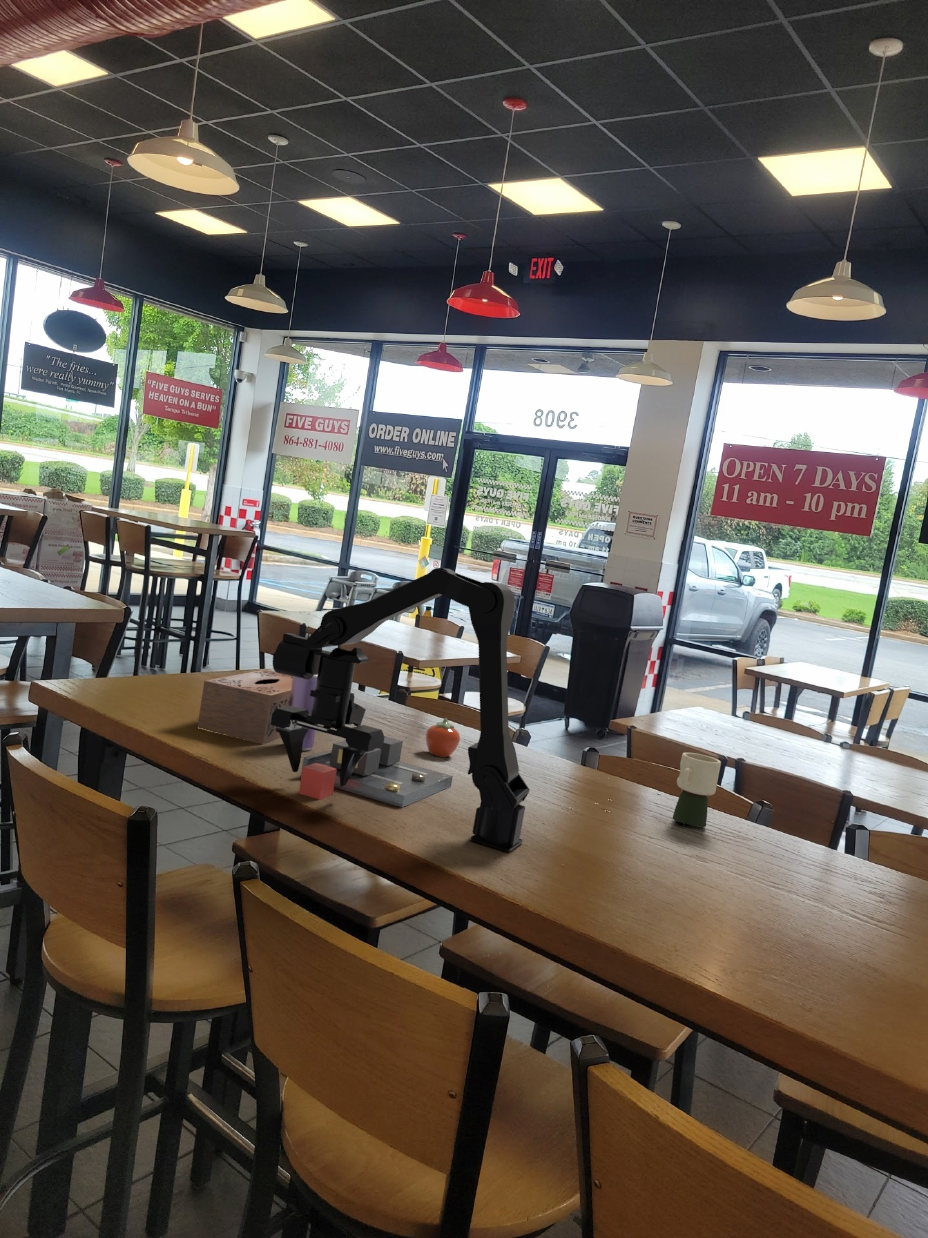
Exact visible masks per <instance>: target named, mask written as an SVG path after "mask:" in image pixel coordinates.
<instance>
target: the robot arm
mask: <svg viewBox="0 0 928 1238" xmlns="http://www.w3.org/2000/svg"><path fill="white" fill-rule="evenodd" d="M441 596H444V597H445V598H448V599H449V600H452V601H453V602H455V603H457V604H460V605H462V606H464V607H466V608H468V612H469V617H470V622H471V625H472V628H473V631H474V634H475V637H476V640H477V645H478V673H479V674H478V679H479V683H478V685H479V687H478V688H479V715H480V716H479V717H480V719H479V720H480V721H479V723H480V733H479V734H480V735H479V739H478V742H475V743H474V744H472V745H470V746H468V747H467V755H468V760H469V768H468V770H467V774H468V775H471V779H472V783H473V786H474V787H476V789H477V790H478V791H479V796H480V805H479V806H478V807H477V808H476V809H475V815H474V821H473V827H472V835H471V836H470V841H471V842H472V843H473V842H474V843H478V844H481V845H484V846H487V847H490V848H493V849H496V850H500V851H502V852H506V853H507V852H508V853H510V852H512V851H513V850H514V849H515V848H517V847H519V846H520V845H521V844H523V839H522V838H520V837H521V833H522V827H523V823H524V822H523V821H524V815H525V811H526V806H524V805H522V804H521V803H522V802H524V801H525V800H526V798H527V797H528V794H530V788H529V786H528V785H527V783H526V782H525V780H524V779H523V777H522V776H521V774H520V772H519V771H520V770H519V769H520V767H519V762H518V757H517V751H516V748H515V745H514V742H513V740H512V736H511V734H510V730H509V728H510V727H509V726H510V725H509V694H508V693H509V691H508V687H509V685H508V684H509V683H508V651H507V650H508V648H507V647H508V645H507V641H508V637H509V633H510V630H511V626H512V622H513V618H514V617H513V616H514V611H515V602H516V599H515V595H514V592H513V591H512V590H511V588H509V587H508V586H507V585H506V584H504V583H500V582H491V581H490V582H489V581H484V582H482V581H480V580H477V579H474V578H471V577H470V576H469V577H468V576H465V575H463V574H460V573H458V572H455V571H454V570H452V569H451V568H444V567H436V568H433V569H431V571H429V572H428V573H426V574H423V575H422V576H420V577H418V578H416V579H414V580H411V581H409V582H408V583H405V584H403V585H400V586H399V587H395V588H394V589H392V590H390V591H388V592H385V593H383V594H382V595H379V596H377V597H375V598H373V599H371V600H368V601H364V602H360V603H355V604H350V605H347V606H343V607H339V608H335V609H331V610H329V611H326V612H325V613H324V614H323V616H322V617H321V621H320V624H319V626H318V627H317V628H316V629H315V630H314V632H313V633H311V634H310V636H308V637H303V636H301V635H298V634H296V633H291V632H290V633H288V632H287V633H283V635H282V640H281V641H280V642H279V643H278V645H277V647H276V649H275V652H273V654H272V655H273V656H272V669H273V670H274V672H277V673H281V674H285V675H290V676H294V677H298V678H303V679H307V680H309V679H311V678H312V677H313V676H314V675H316V674H318V675H317V682H316V688H315V689H313V690H311V692H310V696H312V697H314V700H313V706H312V713H311V714H309V712H308V710H306V709H302V708H298V707H294V706H286V707H280V708H276V709H275V710H274V711H273V712H272V714H271V718H270V725H273V726H276V727H278V728H276V729H275V731H276V732H279V734H280V736H281V738H280V739H281V741H282V743H284V744H283V747H284V749H285V751H286V755H287V756H288V761H289V764H290V768H291V771H292V772H293V773H298V771H299V769H300V764H301V761H302V760H301V758H302V752H303V751H302V746H303V739H304V737H305V735H306V733H307V731H308V729H313V730H316V731H317V732H321V733H325V734H328V735H332V736H335V737H338V738H342V739H345V740H346V742H347V744H348V746H347V747H343V752H342V762H341V772H340V786H342V787H343V786H345V785H346V783H347V781H348V780H349V778H350V776H351V774H352V772H353V771H354V769H355V767H356V765H357V763H358V762H359V760H360V759H361V758H362V756H363V755H364V754H365V753H366V752H370V751H373V750H374V749H377V748H380V747H383V743H384V736H385V735H384V732H383V729H380V728H377V727H373V726H369V725H366V724H362V722H363V719H364V716H365V713H366V711H367V709H366V708H364V707H363V706H361V705H360V704H357V703H355V693H353V692H352V687H353V686H352V685H353V681H354V680H353V679H354V674H355V673H354V672H355V668H356V664H358V665H360V664H366V663H369V658H368V656H367V655H366V654H365V653H364V652H363V650H362V647H361V646H358V647H357V646H356V647H354V648H352V649H347V648H346V649H345V648H342V647H337V646H346V645H354V644H358V643H359V642H361V641H362V640H363V639H365V638H366V637H367V636H369V635H370V634H372V633H374V631H376V630H377V628H378V627H380V626H381V625H383V624H384V623H385V622H387V621H390V620H391V619H394V618H395V617H397V616H399V615H402V614H404V613H406V612H408V611H411V610H413V609H415V608H417V607H420V606H422V605H423V604H426V603H428V602H430V601H432V600H435V599H436V598H439V597H441ZM330 647H335V648H333V650H331V651H330V650H329V651H328V650H325V649H323V648H330ZM347 725H351V726H352V725H353V727H350V726H347Z"/></svg>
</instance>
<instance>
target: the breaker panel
mask: <svg viewBox="0 0 928 1238" xmlns="http://www.w3.org/2000/svg"><path fill="white" fill-rule="evenodd" d="M331 753H332V749H331V750H327V751H323V752H319V753H316V754H311V755H308V756H304V757H303V760H302V765H301V773H300V777H301V776H302V770H303V767H304V766H307V765H311V764H315V763H318V764H321V765H325V766H328V767H332V766H329V765H330V759H331ZM332 768H335V767H332ZM335 769H337V771H336V777H335V783H334V788H336V789H338V790H343V791H346V792H349V793H353V794H355V795H359V796H361V797H362V796H363V797H365V798H369V799H371V800H376V801H377V802H383V803H385V804H389V805H392V806H395V807H398V806H399V808H404V806H405V807H406V806H409V805H411V804H414V803H416V802H419V801H421V800H424V799H425V798H427V797H430V796H433V795H434V794H437V793H439V792H442V791H444V790H446V789H448V788H451V787H452V782H453V777H454V776H453V775H451V774H446V773H444V772H440V771H436V770H432V769H429V768H425V767H421V766H419V765H416V764H411V763H408V762H403V761H399V762H397V763H394V764H391V765H388V766H386V765H382V764H379V767H378V771H377V772H374V773H371V774H368V775H365V776H363V775H359V774H356V773H352V774H351V776H350V778H349V780H348V781H347V783H346V785H345V786H343V787H342V786H340V772H341V769H339V768H335ZM441 790H442V791H441Z"/></svg>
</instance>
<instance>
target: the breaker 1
mask: <svg viewBox="0 0 928 1238" xmlns="http://www.w3.org/2000/svg"><path fill="white" fill-rule="evenodd" d="M347 746H348V744H347V742H346V739H345V740H342V741H339V742H337V741H336V742H333V743H332V748H331V750H332V753H331V759H330V765H329V766H332V767H335V768H339V769H341V762H342V752H343V747H347ZM380 755H381V749H379V748H377V749H374V750H373V751H370V752H366V753H365V754H364V755H363V756H362V758H361V759H360V760H359V762H358V763H357V765H356V767H355V769H354V771H353V772H352V773H356V774H359V775H363V776H365V775H368V774H371V773H374V772H377V771H378V767H379V761H380Z"/></svg>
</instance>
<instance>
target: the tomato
mask: <svg viewBox="0 0 928 1238" xmlns="http://www.w3.org/2000/svg"><path fill="white" fill-rule="evenodd" d="M424 735H425V736H424V740H425V741H424V742H425V744H426V747H427V750H428V752H429V753H430V754H431V755H432V754H433V755H432V756H434V755H435V757H438V756H441V757H440V758H449V757H450V756H451V755H452V754H453V753H454V752H455V751H456V750H457V748H458V747H459V745H460V741H461V736H460V735H461V734H460V733H459V732H458V730H457V729H456V728H455V726H454V724H453V725H452V724H451V723H450V722H449V721H448V718H447V717H445V718H443V720H442V721H438V722H436V724H433V725H431V726H430V727H428V728H427V730H426V731H425V734H424Z"/></svg>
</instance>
